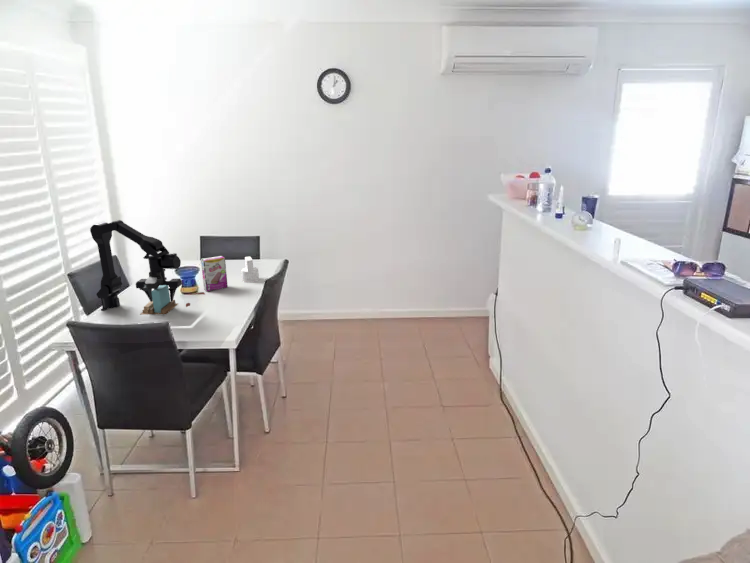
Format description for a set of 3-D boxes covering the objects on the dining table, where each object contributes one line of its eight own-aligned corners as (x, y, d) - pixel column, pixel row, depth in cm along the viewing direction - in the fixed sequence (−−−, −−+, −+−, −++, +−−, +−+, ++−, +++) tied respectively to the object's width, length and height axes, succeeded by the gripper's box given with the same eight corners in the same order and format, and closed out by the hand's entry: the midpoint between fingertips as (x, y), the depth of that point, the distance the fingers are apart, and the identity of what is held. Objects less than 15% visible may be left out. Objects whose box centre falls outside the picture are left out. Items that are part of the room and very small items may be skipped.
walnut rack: (139, 316, 221) (138, 310, 220) (153, 305, 235) (152, 299, 234) (166, 316, 221) (165, 309, 220) (179, 305, 234) (178, 299, 233)
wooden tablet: (206, 310, 229) (206, 307, 229) (183, 312, 227) (182, 309, 226) (206, 292, 254) (206, 289, 253) (185, 294, 251) (185, 291, 250)
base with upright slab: (260, 281, 270) (258, 259, 266) (243, 283, 266) (241, 261, 263) (257, 276, 278) (255, 255, 274) (241, 278, 274) (238, 257, 271)
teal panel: (154, 312, 223) (151, 291, 220) (164, 305, 232) (160, 284, 229) (161, 312, 223) (158, 291, 220) (170, 304, 232) (167, 284, 229)
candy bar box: (207, 292, 253) (203, 260, 248) (203, 289, 257) (200, 258, 252) (228, 287, 259) (225, 257, 254) (225, 285, 263) (221, 255, 258)
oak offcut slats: (142, 312, 223) (141, 307, 222) (152, 305, 232) (151, 300, 232) (148, 312, 223) (147, 307, 222) (158, 305, 232) (157, 299, 232)
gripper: (127, 273, 214) (132, 307, 219) (170, 273, 214) (175, 307, 219) (139, 266, 225) (144, 299, 229) (180, 266, 225) (184, 299, 229)
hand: (161, 301), depth 226 cm, fingers open, 9 cm apart
